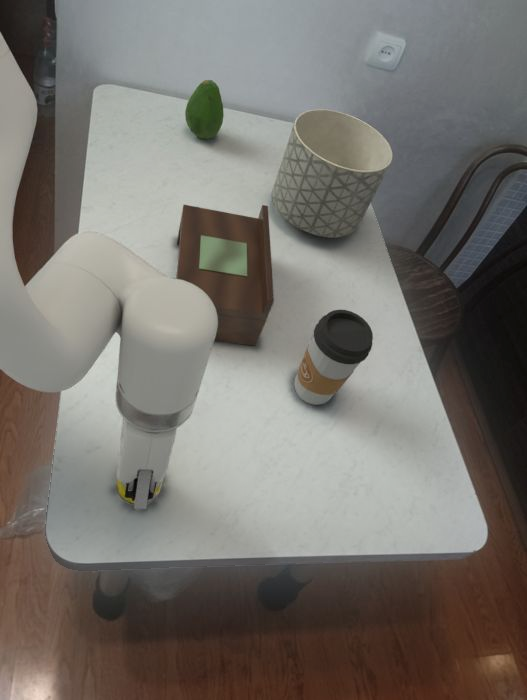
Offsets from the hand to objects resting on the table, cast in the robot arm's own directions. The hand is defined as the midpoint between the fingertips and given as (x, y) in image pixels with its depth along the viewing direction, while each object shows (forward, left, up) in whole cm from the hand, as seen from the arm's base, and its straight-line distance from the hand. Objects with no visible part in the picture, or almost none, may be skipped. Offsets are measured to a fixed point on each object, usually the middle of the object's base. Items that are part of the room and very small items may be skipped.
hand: (141, 470), depth 64 cm
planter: (+29, +61, -5) cm, 68 cm away
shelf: (+9, +36, -5) cm, 37 cm away
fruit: (+5, +82, -5) cm, 82 cm away
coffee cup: (+25, +18, -5) cm, 31 cm away
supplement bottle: (0, 0, -5) cm, 5 cm away
